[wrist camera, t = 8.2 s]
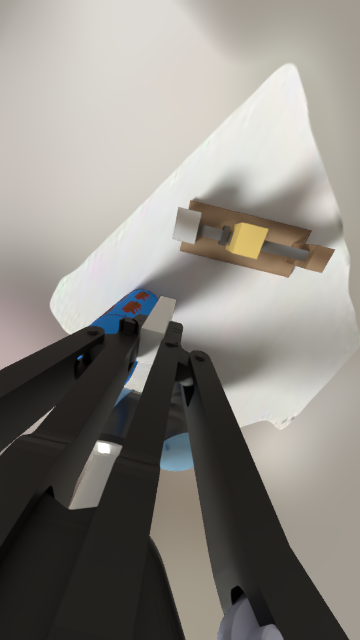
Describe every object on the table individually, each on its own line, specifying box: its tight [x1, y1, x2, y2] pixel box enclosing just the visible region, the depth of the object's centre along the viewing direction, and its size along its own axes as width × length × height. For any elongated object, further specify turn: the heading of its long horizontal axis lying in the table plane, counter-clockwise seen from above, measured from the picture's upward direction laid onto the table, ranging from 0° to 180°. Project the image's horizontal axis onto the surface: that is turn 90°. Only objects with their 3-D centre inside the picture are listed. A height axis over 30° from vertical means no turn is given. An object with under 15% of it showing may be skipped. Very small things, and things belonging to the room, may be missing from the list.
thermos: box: [77, 290, 158, 384], centre depth 39 cm, size 11×11×25 cm
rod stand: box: [173, 200, 335, 277], centre depth 36 cm, size 10×28×10 cm, turn 77°
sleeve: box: [225, 222, 268, 259], centre depth 32 cm, size 4×4×9 cm
